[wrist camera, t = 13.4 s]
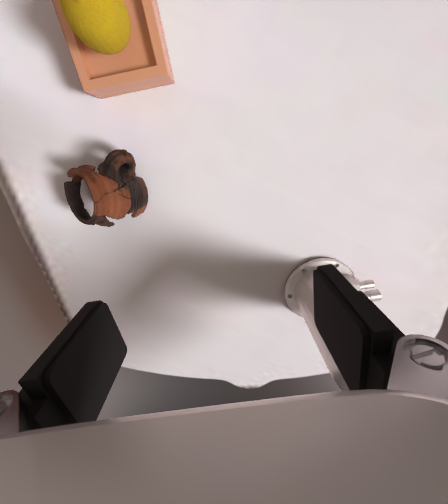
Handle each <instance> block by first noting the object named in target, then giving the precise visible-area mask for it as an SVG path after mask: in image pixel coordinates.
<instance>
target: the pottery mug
mask: <svg viewBox="0 0 448 504" xmlns="http://www.w3.org/2000/svg"><path fill="white" fill-rule="evenodd" d="M135 166H136V164H135V160H134V158H133V156H132V155H131V154H130V153H128V152H127V151H126V150H114V151H112V152H110V153H109V154H108V155H107V157H106V159H105V161H104V162H103V163H101V164H100V165H98V168H97V169H98V171H99V173H98V172H94V170H95V167H94V166H88V165H83V166H79V167H78V168H72V169H70V170H69V171H68V172H67V174H68V177H73V179H72V181H71V182H65V183H64V189H65V195H66V198H67V201H68V204H69V205H70V208H71V210H72V212H73V213H74V215H75V216H76V217H77V219H78V220H79V221H81V222H82V223H84V224H87V225H95V224H97V225H100V226H107V227H110V226H113V225H114V223H113V222H109V220H107V218H106V216H107V217H111V218H113V219H118V220H119V219H121V218H124V217H125V215H126V214H129V213H132V212H133V211H134V213H133V214H132V217H133V218H134V217H137V216H138V215H139V214H141V213H143V212H144V210H145V208H146V206H147V202H148V192H147V187H146V185H145V182H144V180H143V179H142V178H138V177H135V175H136V174H135ZM82 179H84V180H85V182H86V183H87V185H88V187H89V189H90V191H91V194H92V197H93V201H94V212H93V215H92V217H91V216H90V215H89V213H88V212H87V210H86V209H85V208H84V203H83V201H82V198H81V195H80V186H81V180H82ZM119 181H121V182H123V183H124V185H123V186H122V187H120V188H119V184H118V182H119Z"/></svg>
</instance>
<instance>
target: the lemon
mask: <svg viewBox="0 0 448 504" xmlns="http://www.w3.org/2000/svg"><path fill="white" fill-rule="evenodd" d="M59 1H60V5H61V9H62V12H63V14H64V16H65V18H66V21H67V23H68V24H69V26H70V27H71V29H72V30H73V31H74V33H75V34H76V35H77V37H78V38H79V39H80V40H81V41H82V42H83V43H84V44H86V45H87V46H88V47H90V48H91V49H93V50H95V51H96V52H99V53H102V54H106V55H114V54H117V53H119V52H121V51H122V50H123V49H124V48H125V47H126V45H127V44H128V41H129V39H130V33H131V24H130V17H129V14H128V10H127V7H126V5H125V3H124V1H123V0H59Z"/></svg>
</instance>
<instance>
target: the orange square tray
mask: <svg viewBox="0 0 448 504" xmlns="http://www.w3.org/2000/svg"><path fill="white" fill-rule="evenodd" d="M52 1H53V4H54V7H55V10H56V13H57V16H58V19H59V21H60V24H61V27H62V30H63V33H64V36H65V39H66V41H67V44H68V47H69V50H70V53H71V56H72V58H73V61H74V64H75V67H76V70H77V73H78V76H79V78H80V81H81V84H82V87H83V90H84V92H85V93H88V94H90V95H93V96H95V97H98V98H100V99H103V98H107V97H112V96H117V95H122V94H126V93H131V92H136V91H141V90H145V89H150V88H155V87H159V86H164V85H169V84H174V78H173V73H172V69H171V64H170V59H169V55H168V50H167V46H166V41H165V36H164V32H163V27H162V23H161V18H160V13H159V9H158V4H157V0H123V1H124V3H125V5H126V7H127V10H128V14H129V17H130V24H131V33H130V39H129V41H128V44H127V45H126V47H125V48H124V49H123V50H122V51H121V52H119V53H117V54H114V55H106V54H102V53H99V52H96V51H95V50H93V49H91V48H90V47H88V46H87V45H86V44H84V43H83V42H82V41H81V40H80V39H79V38H78V37H77V35H76V34H75V33H74V31H73V30H72V29H71V27H70V26H69V24H68V23H67V21H66V18H65V16H64V14H63V12H62V9H61V5H60V1H59V0H52Z"/></svg>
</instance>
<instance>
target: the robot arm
mask: <svg viewBox="0 0 448 504" xmlns="http://www.w3.org/2000/svg"><path fill="white" fill-rule="evenodd" d="M374 286H375V285H374V282H373V280H366V281H362V282H358V281H356V280H355V277H354V275H353V273H352V271H351V270H350V269H349V268H348V267H347V266H346V265H345V264H343V263H342V262H340V261H338V260H336V259H331V258H318V259H313V260H310V261H308V262H306V263H304V264H302V265H300V266H299V267H298V268H296V269H295V270H294V271H293V272H292V273H291V275H290V276H289V278H288V279H287V282H286V284H285V289H284V296H285V299H286V302H287V304H288V306H289V307H290V309H291V310H292V311H293V312H294V313H295V314H297V315H299V316H301V317H303V318H304V320H305V322H306V324H307V326H308V328H309V330H310V332H311V334H312V336H313V338H314V340H315V342H316V345H317V347H318V349H319V351H320V353H321V355H322V357H323V359H324V361H325V363H326V365H327V367H328V369H329V371H330V373H331V375H332V377H333V379H334V381H335V383H336V384H337V385H338V387H339V388H340V389H341V390H342V391H337V392H327V393H317V394H308V395H298V396H289V397H281V398H273V399H265V400H256V401H248V402H240V403H231V404H223V405H215V406H207V407H200V408H191V409H183V410H176V411H167V412H160V413H152V414H144V415H136V416H129V417H121V418H114V419H106V420H99V421H96V420H97V417H98V415H99V413H100V411H101V409H102V406H103V404H104V402H105V400H106V398H107V395H108V393H109V391H110V389H111V387H112V385H113V382H114V380H115V378H116V376H117V373H118V371H119V369H120V367H121V365H122V363H123V360H124V358H125V356H126V353H127V347H126V344H125V342H124V340H123V338H122V336H121V333H120V331H119V329H118V327H117V325H116V323H115V320H114V318H113V316H112V314H111V312H110V310H109V307H108V305H107V304H106V303H103V302H102V301H100V300H99V301H93V302H88V303H86V304H85V305H84V306H83V307H82V308H81V309H80V311H79V312H78V313H77V314H76V315H75V316H74V318H73V319H72V320H71V321H70V322H69V323H68V325H67V326H66V327H65V328H64V329H63V330H62V332H61V333H60V334H59V335H58V336H57V337H56V338H55V340H54V341H53V342H52V343H51V344H50V346H49V347H48V348H47V349H46V350H45V351H44V352H43V354H42V355H41V356H40V357H39V358H38V359H37V361H36V362H35V363H34V364H33V365H32V366H31V368H30V369H29V370H28V371H27V372H26V373H25V374H24V376H23V377H22V378H21V379H20V380H19V382H18V383H19V384H20V385H21V387H22V390H21V391H20V392H19V393H18V392H17V391H15V390H7V391H4V392H0V504H448V345H447V344H445V343H444V342H442V341H440V340H437V339H435V338H432V337H429V336H424V335H412V334H411V335H406V336H405V335H404V334H403V333H402V332H401V331H400V330H399V329H398V328H397V327H396V326H395V325H394V324H393V323H392V322H391V321H390V320H389V319H388V318H387V316H386V315H385V314H384V313H383V312H382V311H381V310H380V309H379V308H378V307H377V306H376V305H375V304H374V303H373V301H380V300H381V293H380V292H379V290H377V289H376V290H370V291H365V292H361V291H360V290H361V289H368V288H374Z"/></svg>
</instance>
